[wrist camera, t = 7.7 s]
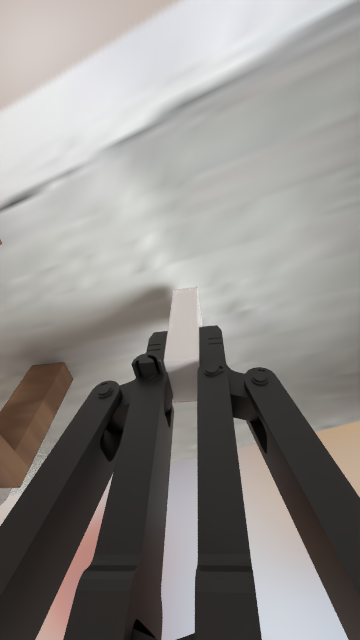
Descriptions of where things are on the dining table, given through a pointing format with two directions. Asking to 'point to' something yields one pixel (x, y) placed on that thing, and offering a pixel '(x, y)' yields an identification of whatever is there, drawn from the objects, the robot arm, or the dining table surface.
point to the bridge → (29, 419)
